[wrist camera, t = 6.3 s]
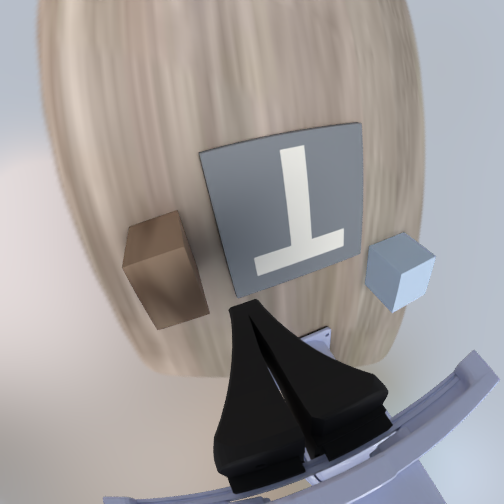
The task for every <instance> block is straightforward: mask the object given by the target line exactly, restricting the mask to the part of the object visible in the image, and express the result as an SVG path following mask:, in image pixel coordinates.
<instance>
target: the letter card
mask: <svg viewBox="0 0 504 504" xmlns="http://www.w3.org/2000/svg"><path fill="white" fill-rule="evenodd" d="M199 155H200V160H201V164H202V168H203V172H204V176H205V180H206V184H207V188H208V192H209V196H210V200H211V204H212V207H213V211H214V215H215V219H216V223H217V227H218V230H219V234H220V238H221V242H222V245H223V249H224V253H225V257H226V260H227V264H228V268H229V271H230V275H231V278H232V282H233V286H234V289H235V293H236V296H237V298H241V297H244V296H247V295H250V294H252V293H255V292H258V291H261V290H264V289H267V288H270V287H273V286H275V285H278V284H281V283H284V282H287V281H289V280H292V279H295V278H298V277H300V276H303V275H306V274H309V273H311V272H314V271H317V270H319V269H322V268H325V267H327V266H330V265H333V264H335V263H338V262H340V261H343V260H346V259H348V258H351V257H353V256H356V255H358V254H360V251H361V236H362V216H363V143H362V123H358V122H356V123H347V124H339V125H331V126H323V127H316V128H310V129H303V130H297V131H292V132H286V133H281V134H275V135H270V136H265V137H261V138H256V139H251V140H247V141H242V142H238V143H234V144H230V145H226V146H222V147H218V148H214V149H210V150H206V151H203V152H199Z"/></svg>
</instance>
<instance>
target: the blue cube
mask: <svg viewBox="0 0 504 504" xmlns="http://www.w3.org/2000/svg"><path fill="white" fill-rule="evenodd" d="M435 258H436V256H435V255H434V254H433V253H431V252H430V251H429V250H427V249H426V248H425V247H424V246H422V245H421V244H419V243H418V242H417V241H415V240H414V239H413V238H411V237H410V236H409V235H407V234H406V233H404V232H403V233H401V234H398V235H396V236H393V237H391V238H388V239H386V240H383V241H381V242H378V243H376V244H373V245H371V246H369V252H368V262H367V271H366V279H365V285H366V286H367V287H368V288H369V289H370V290H371V291H372V292H373V293H374V294H375V295H376V296H377V297H378V299H379V300H380V301H381V302H382V303H383V304H384V305H385V306H386V307H387V308H388V309H389V310H390V311H391V312H392V313H393V312H395V311H397V310H398V309H400V308H402V307H404V306H405V305H407V304H409V303H410V302H412V301H414V300H416V299H417V298H419V297H421V296H422V295H424V294H425V292H426V289H427V286H428V283H429V280H430V276H431V273H432V269H433V265H434V262H435Z"/></svg>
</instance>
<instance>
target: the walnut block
mask: <svg viewBox="0 0 504 504" xmlns="http://www.w3.org/2000/svg"><path fill="white" fill-rule="evenodd" d="M122 268H123V270H124V272H125V274H126V276H127V278H128V280H129V282H130V283H131V285H132V287H133V289H134V291H135V293H136V294H137V296H138V298H139V300H140V301H141V303H142V305H143V307H144V308H145V310H146V312H147V313H148V315H149V317H150V318H151V320H152V322H153V323H154V325H155V327H156V328H157V330H160V329H163V328H166V327H170V326H173V325H176V324H179V323H182V322H186V321H189V320H192V319H195V318H198V317H201V316H204V315H207V314H210V312H209V308H208V305H207V301H206V298H205V294H204V290H203V287H202V283H201V279H200V275H199V272H198V268H197V265H196V263H195V260H194V257H193V254H192V251H191V249H190V246H189V243H188V240H187V237H186V234H185V231H184V228H183V225H182V222H181V219H180V216H179V213H178V210H177V211H174V212H171V213H168V214H165V215H162V216H159V217H156V218H153V219H150V220H147V221H145V222H142V223H139V224H136V225H133V226H131V227H129V231H128V236H127V242H126V247H125V253H124V259H123V266H122Z"/></svg>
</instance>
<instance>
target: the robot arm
mask: <svg viewBox="0 0 504 504" xmlns="http://www.w3.org/2000/svg"><path fill="white" fill-rule="evenodd" d="M229 313H230V317H231V324H232V362H231V372H230V379H229V386H228V391H227V396H226V400H225V404H224V408H223V412H222V415H221V419H220V422H219V425H218V428H217V431H216V433H215V436H214V446H213V449H214V450H213V453H214V461H215V464H216V468H217V471H218V472H219V473H220V474H222V475H224V476H226V477H228V480H229V483H230V487H226V488H221V489H216V490H212V491H206V492H201V493H195V494H189V495H182V496H174V497H165V498H153V499H134V498H130V497H103V502H104V504H446V502H445V501H444V499H443V497H442V496H441V494H440V492H439V491H438V489H437V488H436V486H435V485H434V483H433V481H432V480H431V478H430V477H429V475H428V474H427V472H426V470H425V469H424V467H423V466H422V464H421V463H420V461H419V460H418V459H419V458H420V457H422V456H423V455H424V454H426V453H427V452H428V451H429V450H430V449H432V448H433V447H434V446H435V445H437V444H438V443H439V442H440V441H441V440H443V438H445V437H446V436H447V435H448V434H449V433H450V432H451V431H453V430H454V429H455V428H456V427H457V426H458V425H459V424H460V423H461V422H462V421H463V420H464V419H465V418H466V417H467V416H468V415H469V414H470V413H471V412H472V411H473V410H474V409H475V408H476V407H477V406H478V405H479V404H480V403H481V402H482V400H483V399H484V398H485V397H486V396H487V395H488V394H489V393H490V392H491V390H492V389H493V388H494V387H495V386H496V385H497V383H498V382H499V381H500V379H499V378H498V376H497V375H496V374H495V373H494V372H493V370H492V369H491V368H490V367H489V366H488V364H487V363H486V362H485V361H484V360H483V359H482V358H481V356H480V355H479V354H478V353H477V352H476V351H475V350H473V351H472V352H471V353H470V354H469V355H467V356H466V357H465V358H464V359H463V360H462V361H461V362H460V363H459V364H458V366H457V367H456V368H455V370H454V372H453V373H451V374H450V375H449V376H448V377H447V378H446V379H444V380H443V381H442V382H441V383H439V384H438V385H437V386H436V387H434V388H433V389H432V390H430V391H429V392H428V393H427V394H425V395H424V396H423V397H421V398H420V399H418V400H417V401H416V402H414V403H413V404H412V405H410V406H409V407H407V408H406V409H404V410H403V411H401V412H400V413H398V414H397V415H395V416H394V417H391V416H390V414H389V413H388V411H387V410H386V409H385V407H384V406H383V402H384V401H385V399H386V397H387V395H388V390H387V388H386V387H385V385H384V384H383V383H382V382H381V381H380V380H379V379H378V378H377V377H376V376H375V375H374V374H371V373H368V372H365V371H362V370H359V369H356V368H354V367H351V366H349V365H346V364H344V363H341V362H339V361H337V360H336V359H335V358H334V356H333V355H332V353H331V352H330V338H331V329H330V328H329V327H326V328H324V329H322V330H319V331H317V332H315V333H312V334H310V335H307V336H305V337H303V338H300V339H299V338H298V337H297V336H295V335H294V334H293V333H292V332H290V331H289V330H288V329H287V328H285V327H284V326H283V325H282V324H281V323H280V322H278V321H277V320H276V319H275V318H274V317H273V316H272V315H271V314H270V313H269V312H268V311H267V310H266V309H265V308H264V307H263V305H262V304H261V303H260V302H259V300H257V299H254V300H251V301H248V302H245V303H242V304H239V305H236V306H233V307H230V309H229ZM279 390H280V391H281V393H282V395H283V397H284V398H283V397H282V395H281V393H280V391H279ZM302 479H306V480H307V481H308V482H309V483H310V484H311V485H312V486H311V487H308V488H306V489H303V490H301V491H298V492H296V493H293V494H291V495H288V496H285V497H282V498H280V499H277V500H274V501H270V499H269V498H262V497H255V498H250V499H246V500H240V501H235V502H230V501H234V500H239V499H243V498H247V497H250V496H254V495H257V494H261V493H264V492H268V491H271V490H274V489H277V488H280V487H283V486H286V485H289V484H292V483H294V482H297V481H300V480H302Z"/></svg>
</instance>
